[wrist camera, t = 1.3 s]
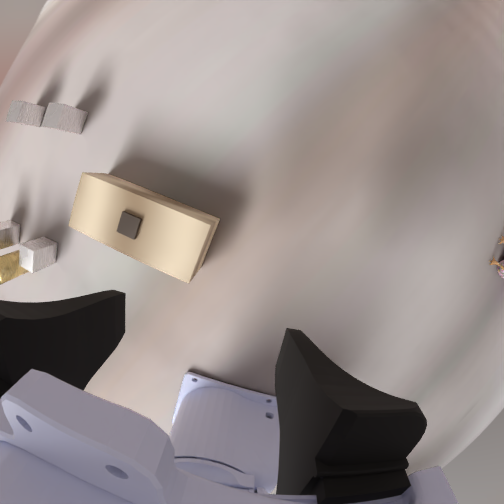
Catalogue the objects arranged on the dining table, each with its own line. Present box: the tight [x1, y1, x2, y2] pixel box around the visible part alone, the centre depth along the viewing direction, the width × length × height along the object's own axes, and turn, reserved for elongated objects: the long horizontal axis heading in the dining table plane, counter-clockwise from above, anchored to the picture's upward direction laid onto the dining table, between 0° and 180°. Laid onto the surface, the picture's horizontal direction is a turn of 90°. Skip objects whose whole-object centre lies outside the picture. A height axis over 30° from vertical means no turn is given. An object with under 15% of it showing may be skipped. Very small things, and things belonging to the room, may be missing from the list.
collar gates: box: [0, 101, 88, 273], centre depth 18 cm, size 8×14×4 cm, turn 161°
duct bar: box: [69, 172, 220, 283], centre depth 19 cm, size 10×4×4 cm, turn 67°
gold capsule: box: [0, 250, 29, 284], centre depth 19 cm, size 2×2×5 cm
